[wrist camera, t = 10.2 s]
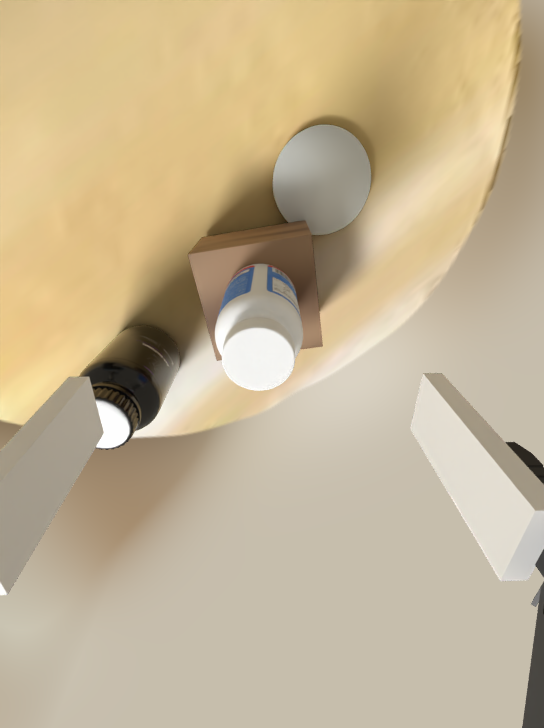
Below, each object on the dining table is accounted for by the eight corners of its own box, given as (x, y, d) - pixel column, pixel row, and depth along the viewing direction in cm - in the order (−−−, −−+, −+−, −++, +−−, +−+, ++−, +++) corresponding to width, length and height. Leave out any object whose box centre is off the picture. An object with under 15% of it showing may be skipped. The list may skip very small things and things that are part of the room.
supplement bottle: (185, 330, 36) (152, 394, 25) (177, 388, 39) (146, 467, 28) (113, 316, 35) (48, 376, 24) (111, 376, 38) (53, 454, 27)
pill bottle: (228, 329, 29) (210, 401, 21) (223, 262, 26) (198, 314, 18) (296, 328, 29) (305, 400, 21) (298, 261, 26) (308, 313, 18)
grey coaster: (272, 125, 28) (273, 123, 27) (374, 126, 28) (377, 125, 28) (272, 233, 32) (272, 234, 31) (362, 233, 32) (364, 235, 31)
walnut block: (202, 237, 31) (187, 254, 26) (305, 220, 31) (311, 234, 25) (225, 330, 36) (216, 360, 31) (315, 317, 35) (322, 346, 30)
